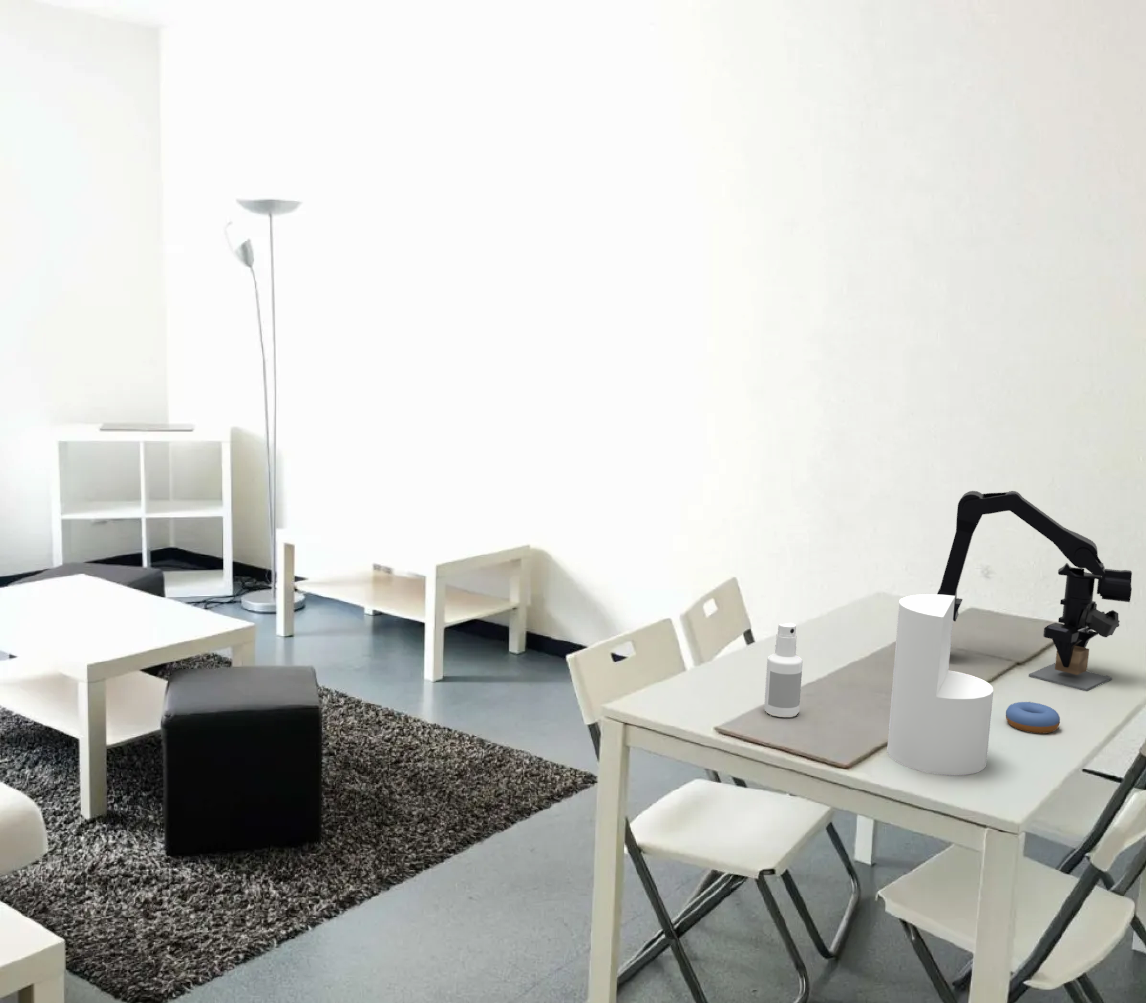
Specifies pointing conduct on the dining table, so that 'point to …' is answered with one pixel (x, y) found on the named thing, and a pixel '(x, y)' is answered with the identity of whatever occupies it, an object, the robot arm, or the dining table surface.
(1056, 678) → the charcoal mat
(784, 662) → the spray bottle
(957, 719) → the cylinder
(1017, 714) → the doughnut
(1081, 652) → the walnut cube
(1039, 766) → the dining table surface
